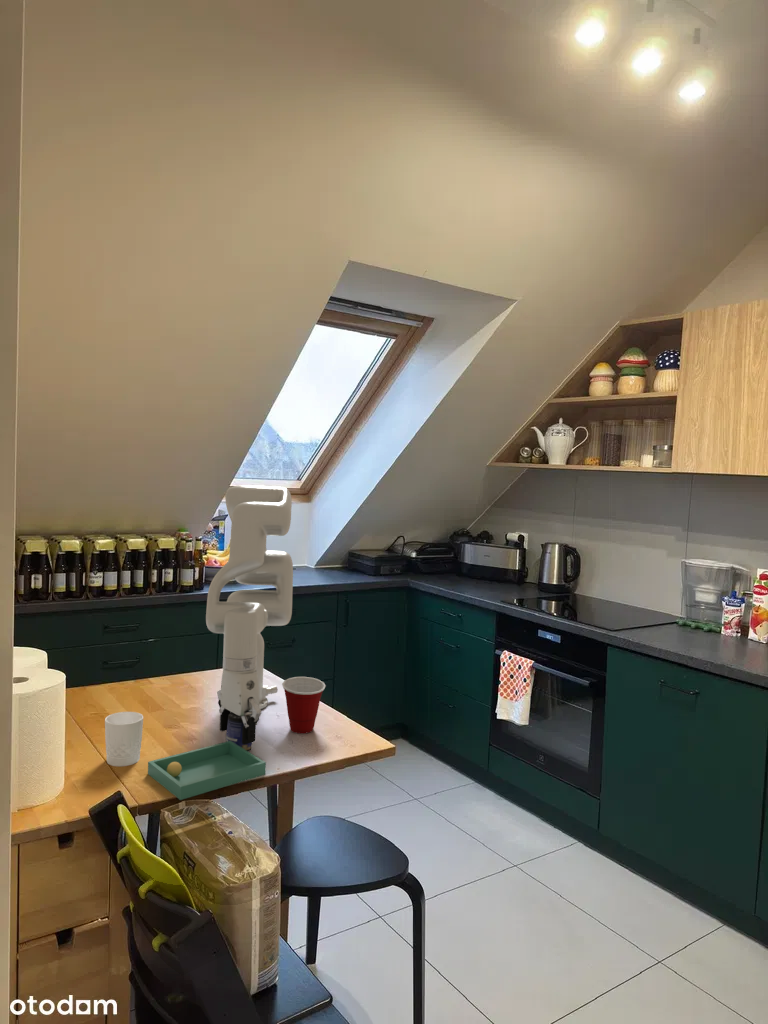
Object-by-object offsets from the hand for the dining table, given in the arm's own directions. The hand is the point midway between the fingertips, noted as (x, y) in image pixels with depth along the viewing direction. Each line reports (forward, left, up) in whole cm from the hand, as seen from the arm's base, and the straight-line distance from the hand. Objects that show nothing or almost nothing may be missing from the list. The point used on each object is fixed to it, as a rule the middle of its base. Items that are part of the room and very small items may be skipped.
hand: (237, 736), depth 168 cm
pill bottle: (-1, 0, -4) cm, 4 cm away
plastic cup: (-20, -2, -4) cm, 21 cm away
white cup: (+23, -9, -4) cm, 25 cm away
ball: (+18, +5, -3) cm, 19 cm away
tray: (+12, +8, -4) cm, 15 cm away
